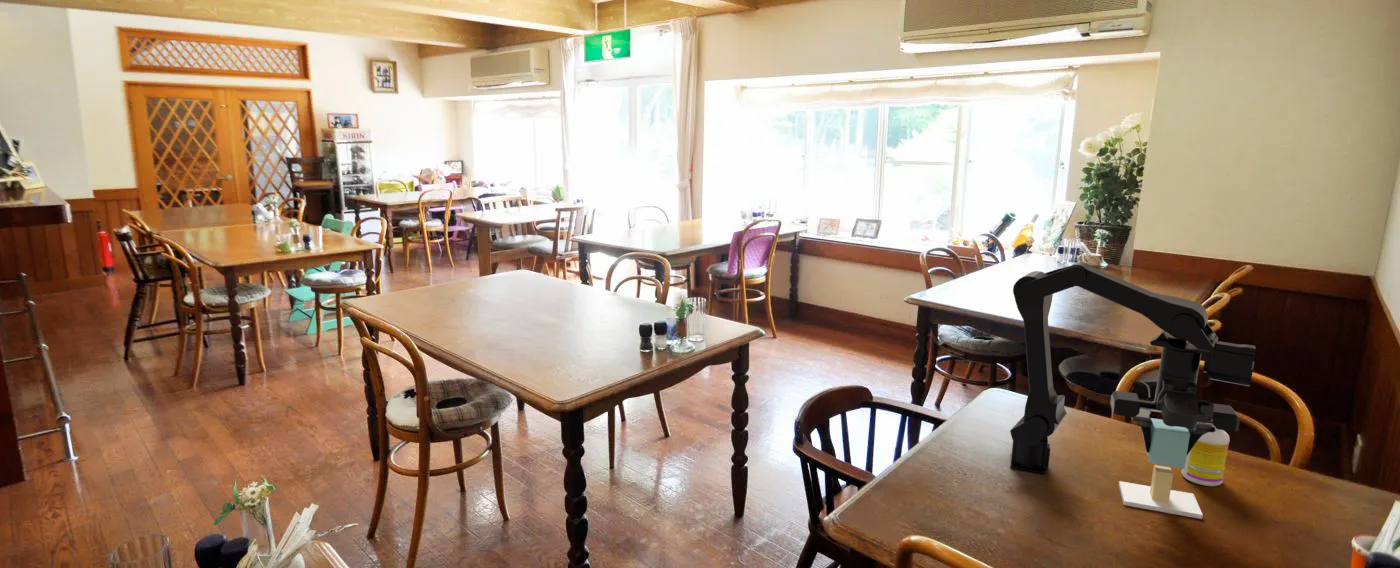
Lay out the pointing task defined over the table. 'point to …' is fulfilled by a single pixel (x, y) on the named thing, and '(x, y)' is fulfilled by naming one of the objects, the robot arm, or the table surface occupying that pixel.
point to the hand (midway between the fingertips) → (1165, 454)
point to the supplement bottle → (1207, 459)
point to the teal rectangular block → (1168, 444)
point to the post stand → (1160, 495)
